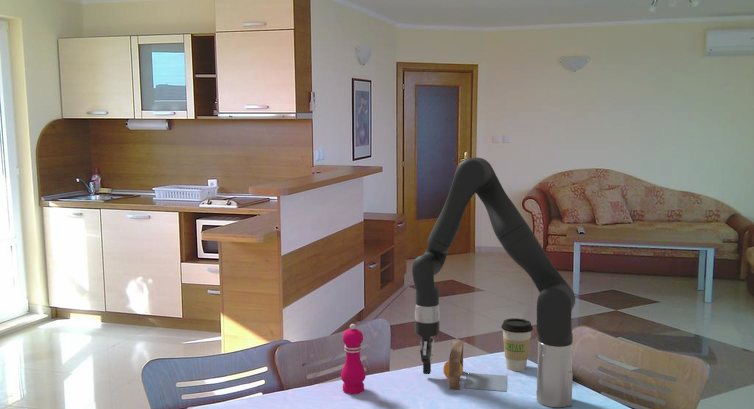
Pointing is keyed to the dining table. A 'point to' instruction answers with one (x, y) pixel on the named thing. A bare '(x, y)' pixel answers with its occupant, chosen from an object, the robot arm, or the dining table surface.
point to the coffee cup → (516, 342)
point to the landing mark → (486, 382)
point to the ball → (446, 369)
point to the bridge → (455, 365)
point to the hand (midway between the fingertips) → (427, 373)
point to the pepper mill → (353, 362)
